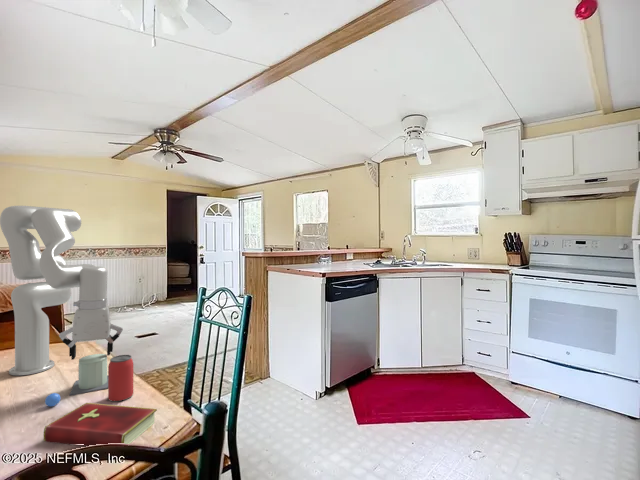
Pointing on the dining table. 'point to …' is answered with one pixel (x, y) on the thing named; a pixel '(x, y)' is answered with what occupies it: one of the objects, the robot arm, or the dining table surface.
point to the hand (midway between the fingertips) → (91, 356)
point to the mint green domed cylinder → (92, 371)
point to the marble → (52, 399)
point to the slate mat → (78, 390)
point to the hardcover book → (100, 425)
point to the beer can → (120, 378)
